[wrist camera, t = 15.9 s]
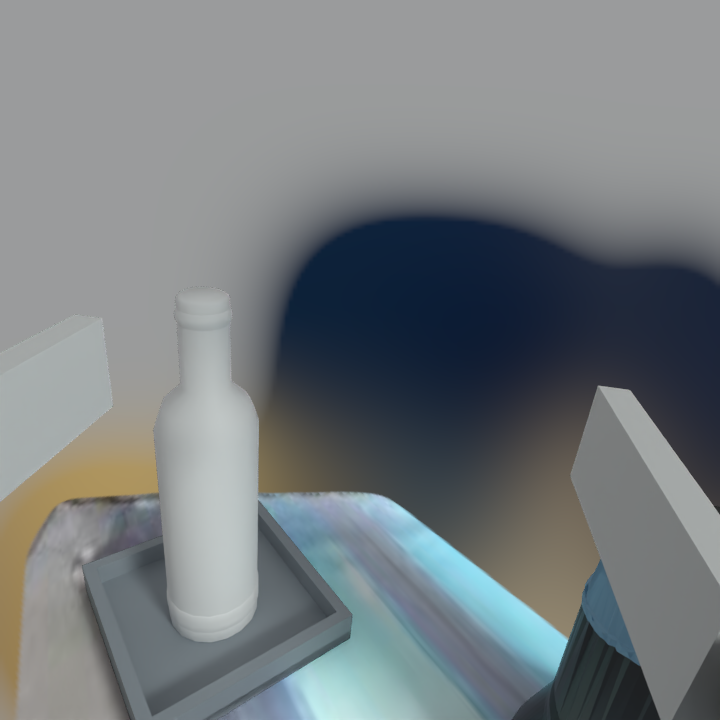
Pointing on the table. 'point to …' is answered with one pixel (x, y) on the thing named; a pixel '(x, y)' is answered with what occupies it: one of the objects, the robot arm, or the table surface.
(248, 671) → the tray
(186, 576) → the bottle
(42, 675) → the table surface
